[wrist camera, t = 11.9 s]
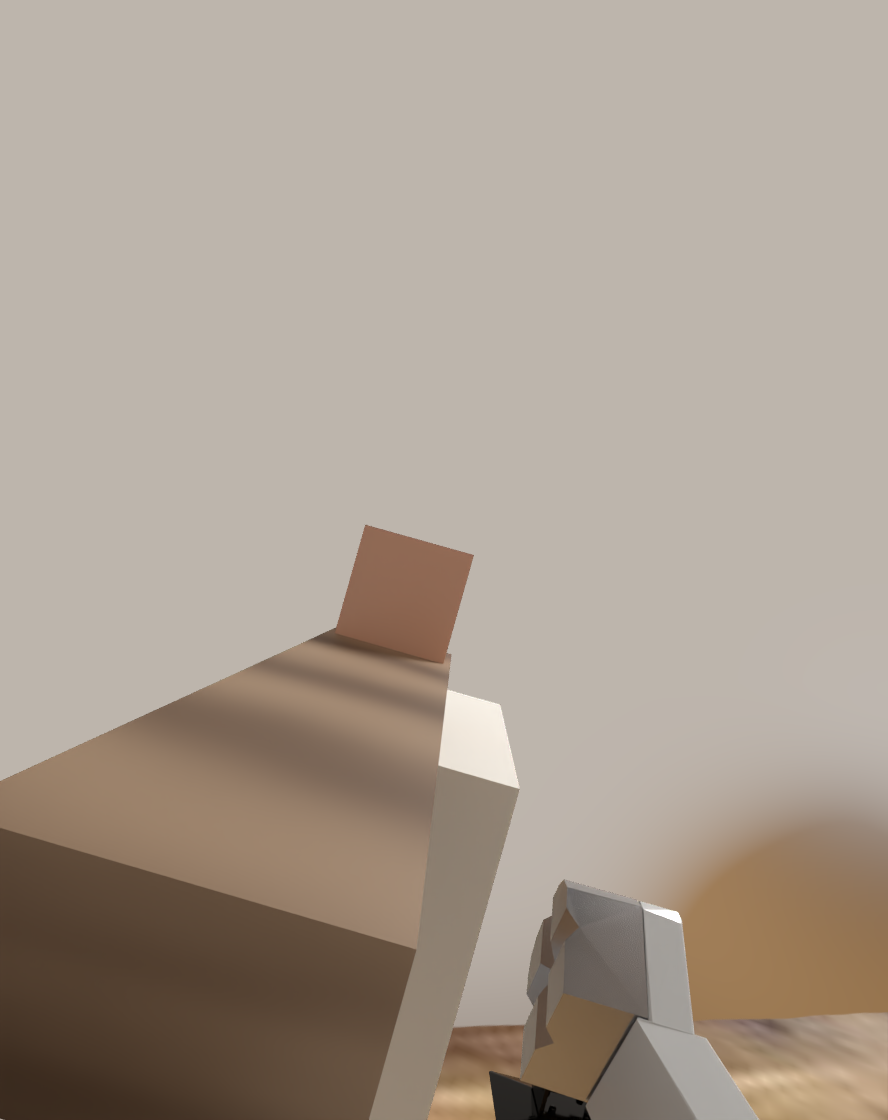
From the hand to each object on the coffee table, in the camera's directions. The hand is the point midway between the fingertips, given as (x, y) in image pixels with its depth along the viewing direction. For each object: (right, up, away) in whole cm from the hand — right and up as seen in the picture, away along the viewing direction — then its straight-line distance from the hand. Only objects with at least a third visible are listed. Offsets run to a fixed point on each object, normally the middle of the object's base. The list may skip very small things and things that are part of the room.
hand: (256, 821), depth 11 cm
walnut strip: (0, -2, +9) cm, 10 cm away
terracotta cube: (+1, 0, +20) cm, 20 cm away
